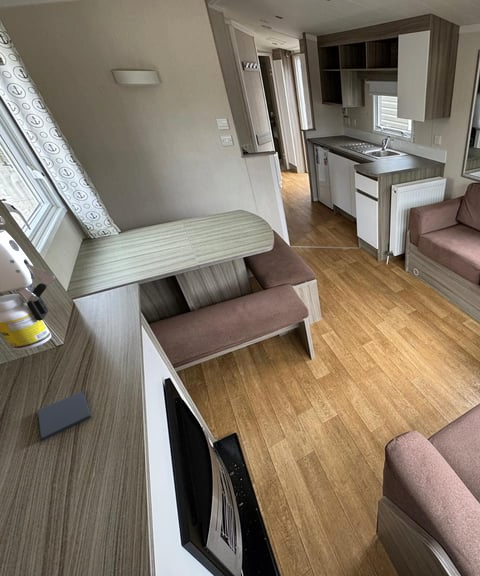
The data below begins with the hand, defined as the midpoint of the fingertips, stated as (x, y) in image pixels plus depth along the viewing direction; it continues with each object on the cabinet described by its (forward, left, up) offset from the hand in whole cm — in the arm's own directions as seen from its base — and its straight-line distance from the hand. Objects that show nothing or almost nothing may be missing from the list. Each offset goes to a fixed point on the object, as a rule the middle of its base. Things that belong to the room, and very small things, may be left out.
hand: (19, 321), depth 57 cm
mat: (+2, -5, -20) cm, 20 cm away
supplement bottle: (0, 0, -5) cm, 5 cm away
